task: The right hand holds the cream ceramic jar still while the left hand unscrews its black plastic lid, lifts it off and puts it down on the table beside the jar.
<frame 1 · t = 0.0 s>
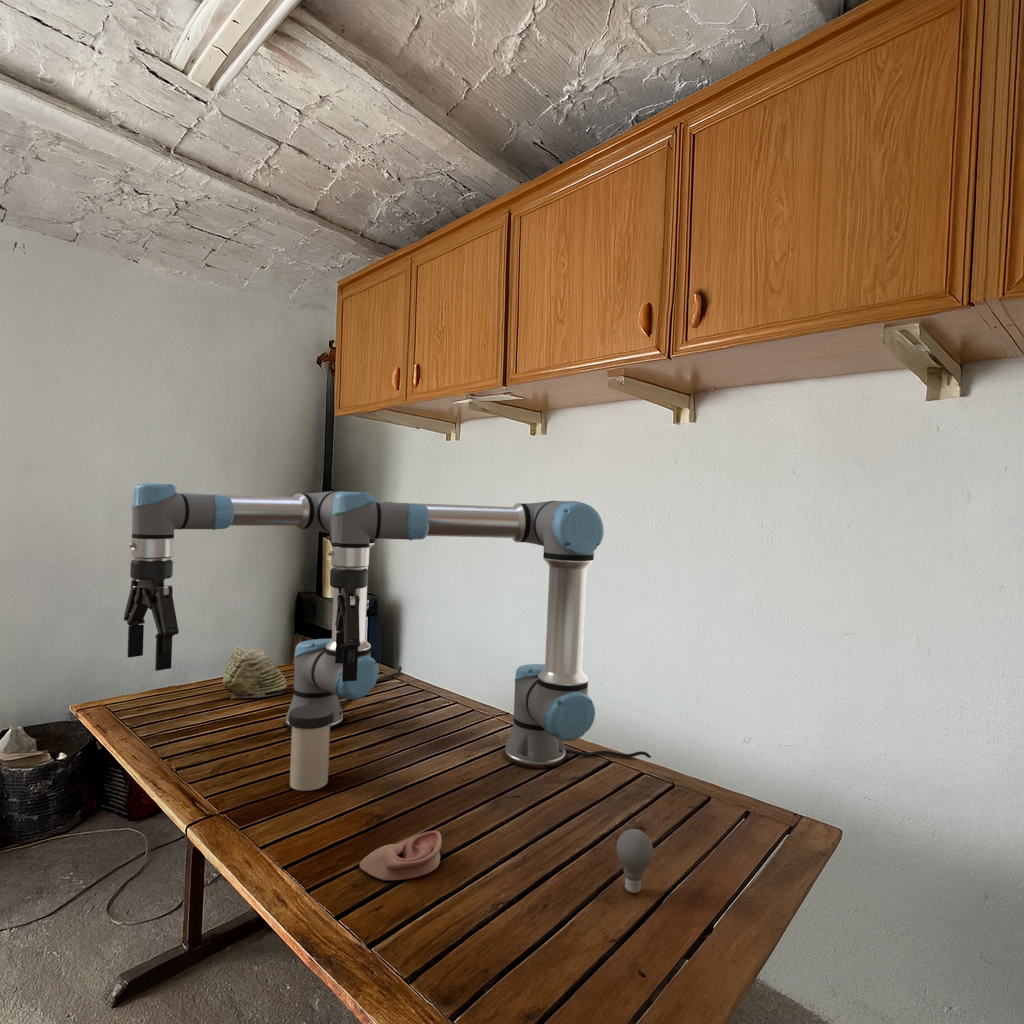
left hand: (148, 662, 129), 28 cm above the table, tool pointing down, fingers open, 13 cm apart
right hand: (345, 671, 129), 28 cm above the table, tool pointing down, fingers open, 13 cm apart
jar: (309, 782, 140), on the table
light bulb: (632, 891, 106), on the table
fossil: (254, 694, 198), on the table
lid: (311, 713, 140), point 15 cm above the table, screwed on, not yet turned
anatomical model: (401, 863, 111), on the table
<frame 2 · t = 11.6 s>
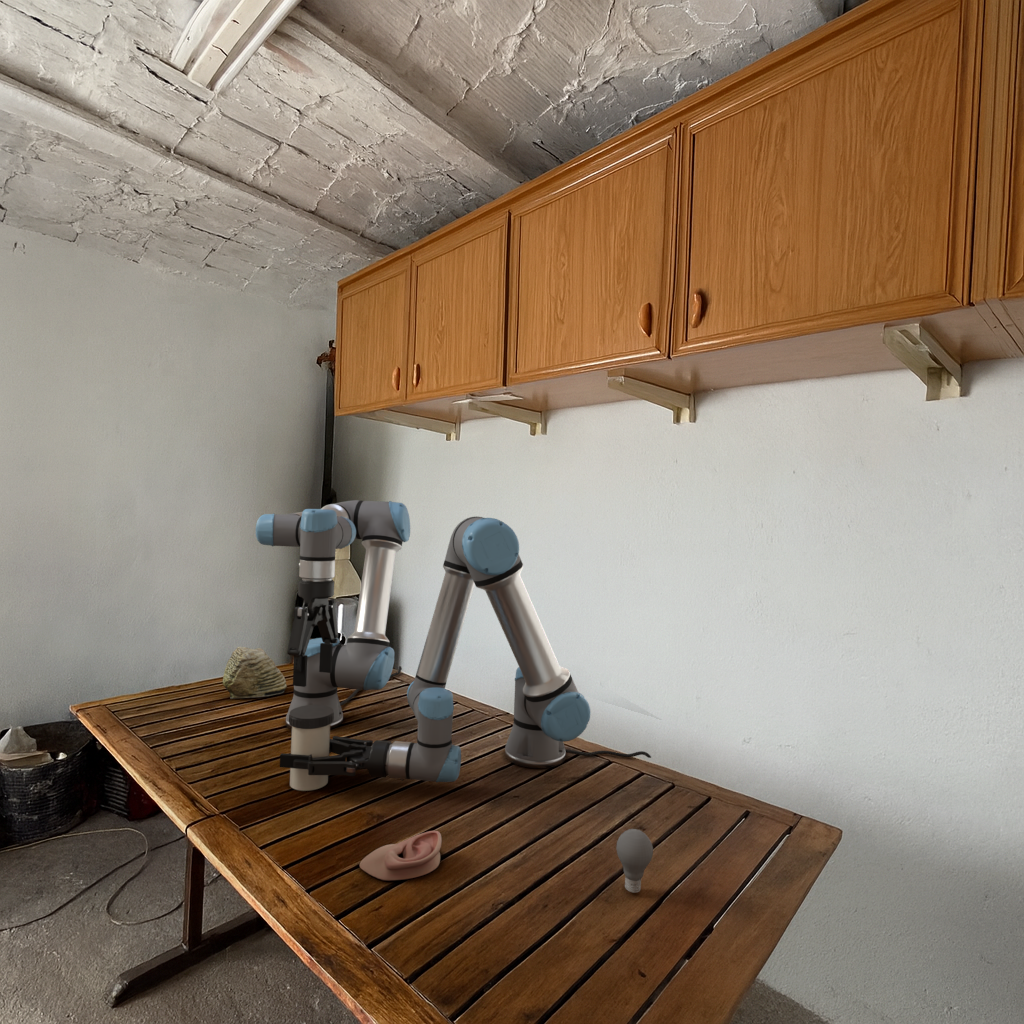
left hand: (313, 678, 140), 23 cm above the table, tool pointing down, fingers open, 11 cm apart
right hand: (289, 752, 140), 6 cm above the table, tool horizontal, fingers closed on jar, 8 cm apart
jar: (309, 782, 140), on the table, touching right hand
everything else where it was.
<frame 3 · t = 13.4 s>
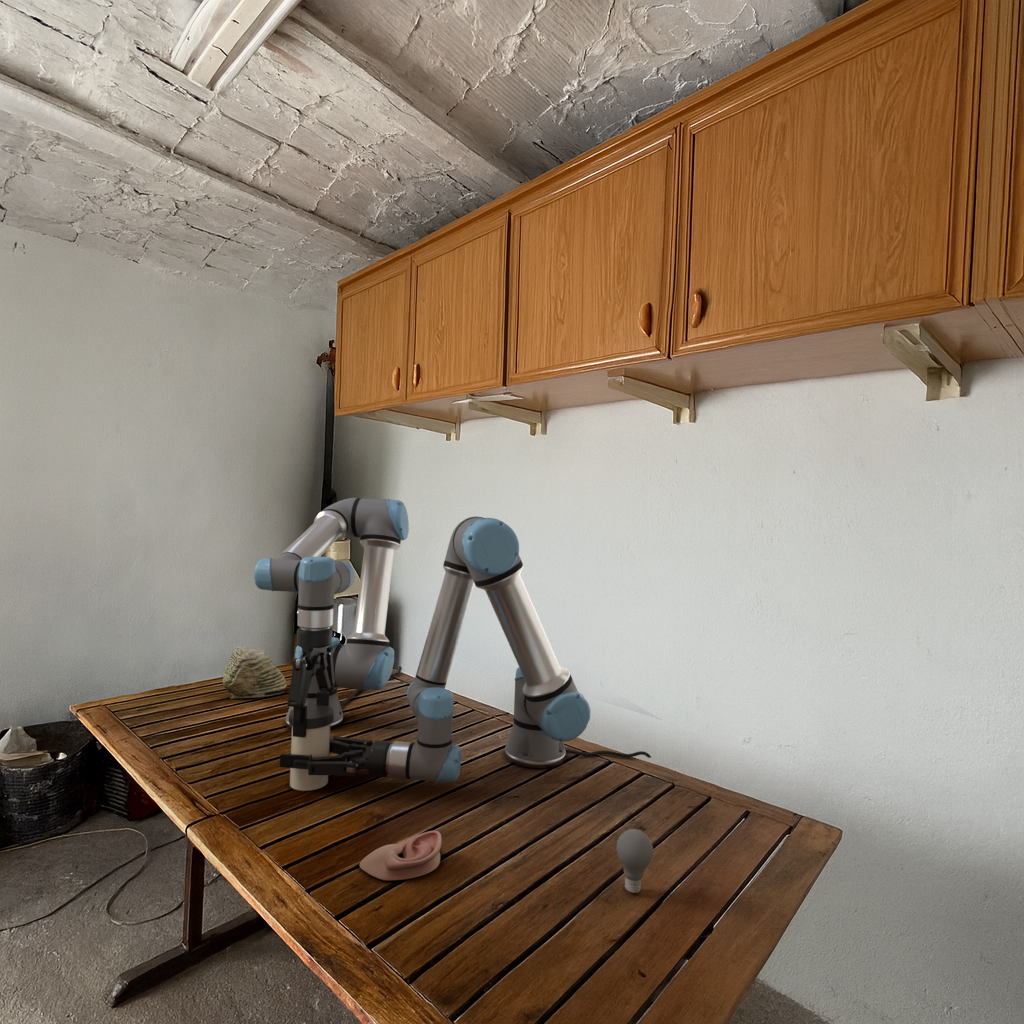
left hand: (311, 728, 140), 12 cm above the table, tool pointing down, fingers closed on lid, 9 cm apart
right hand: (289, 752, 140), 6 cm above the table, tool horizontal, fingers closed on jar, 8 cm apart
jar: (309, 782, 140), on the table, touching right hand
lid: (311, 713, 140), point 15 cm above the table, screwed on, not yet turned, touching left hand
everything else where it was.
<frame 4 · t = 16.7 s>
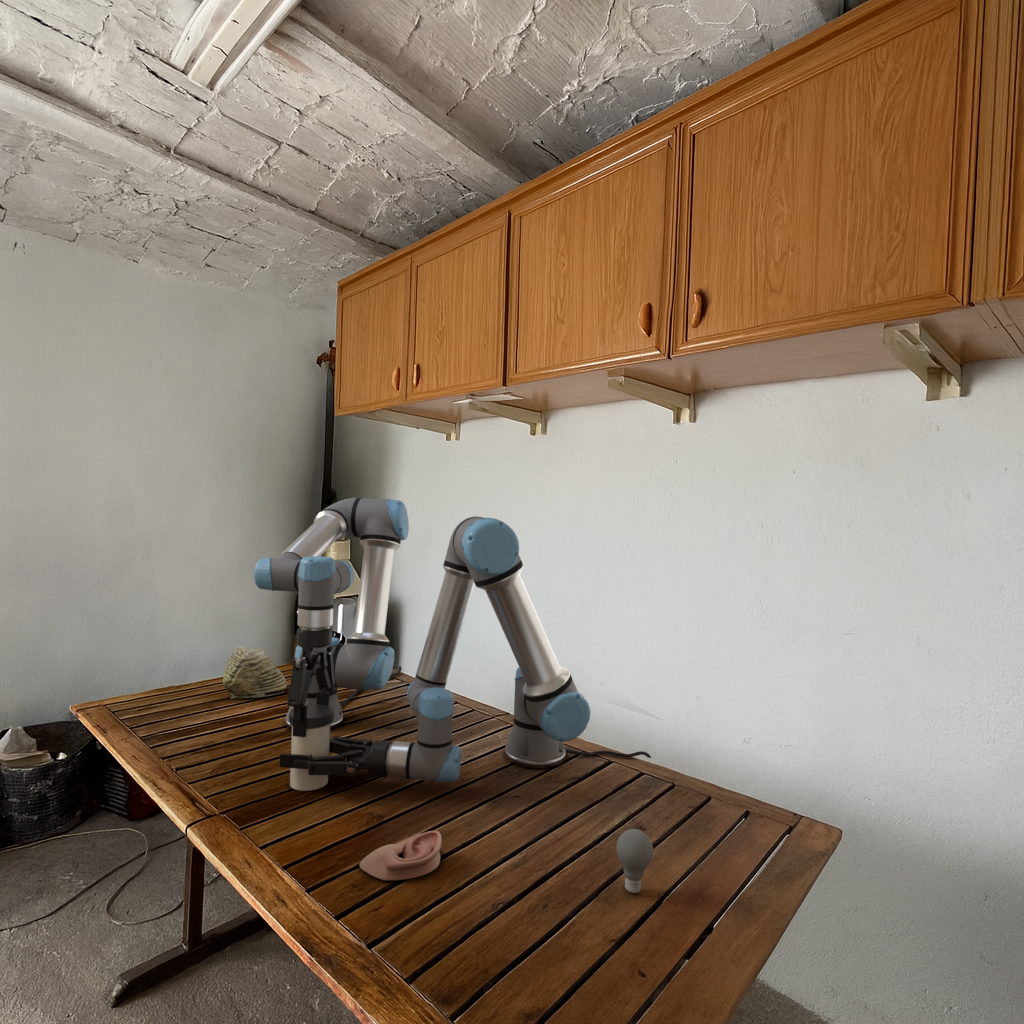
left hand: (311, 728, 140), 12 cm above the table, tool pointing down, fingers closed on lid, 9 cm apart
right hand: (289, 752, 140), 6 cm above the table, tool horizontal, fingers closed on jar, 8 cm apart
jar: (309, 782, 140), on the table, touching right hand
lid: (311, 712, 140), point 16 cm above the table, turned 92° so far, risen 0.1 cm, still on its thread, touching left hand
everything else where it was.
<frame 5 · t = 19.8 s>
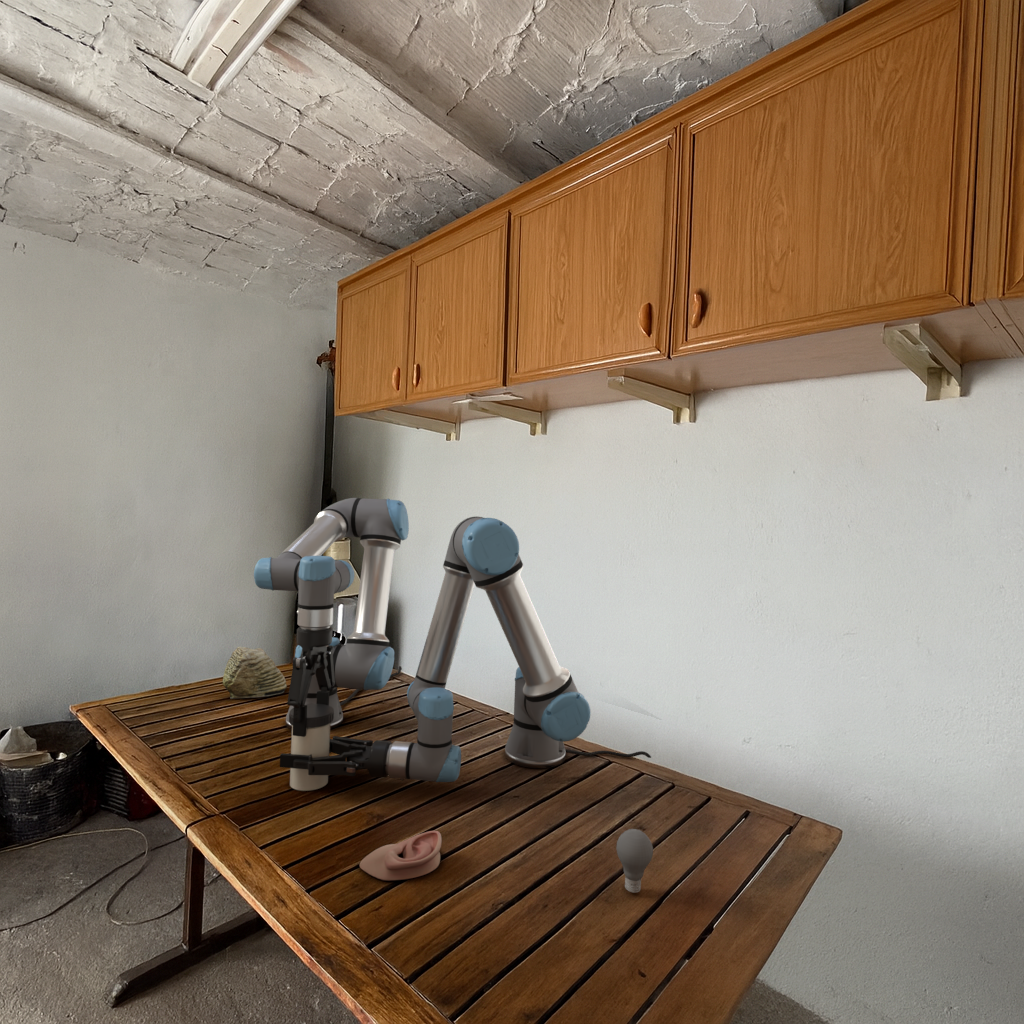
left hand: (311, 727, 140), 12 cm above the table, tool pointing down, fingers closed on lid, 9 cm apart
right hand: (289, 752, 140), 6 cm above the table, tool horizontal, fingers closed on jar, 8 cm apart
jar: (309, 782, 140), on the table, touching right hand
lid: (311, 712, 140), point 16 cm above the table, turned 185° so far, risen 0.2 cm, still on its thread, touching left hand
everything else where it was.
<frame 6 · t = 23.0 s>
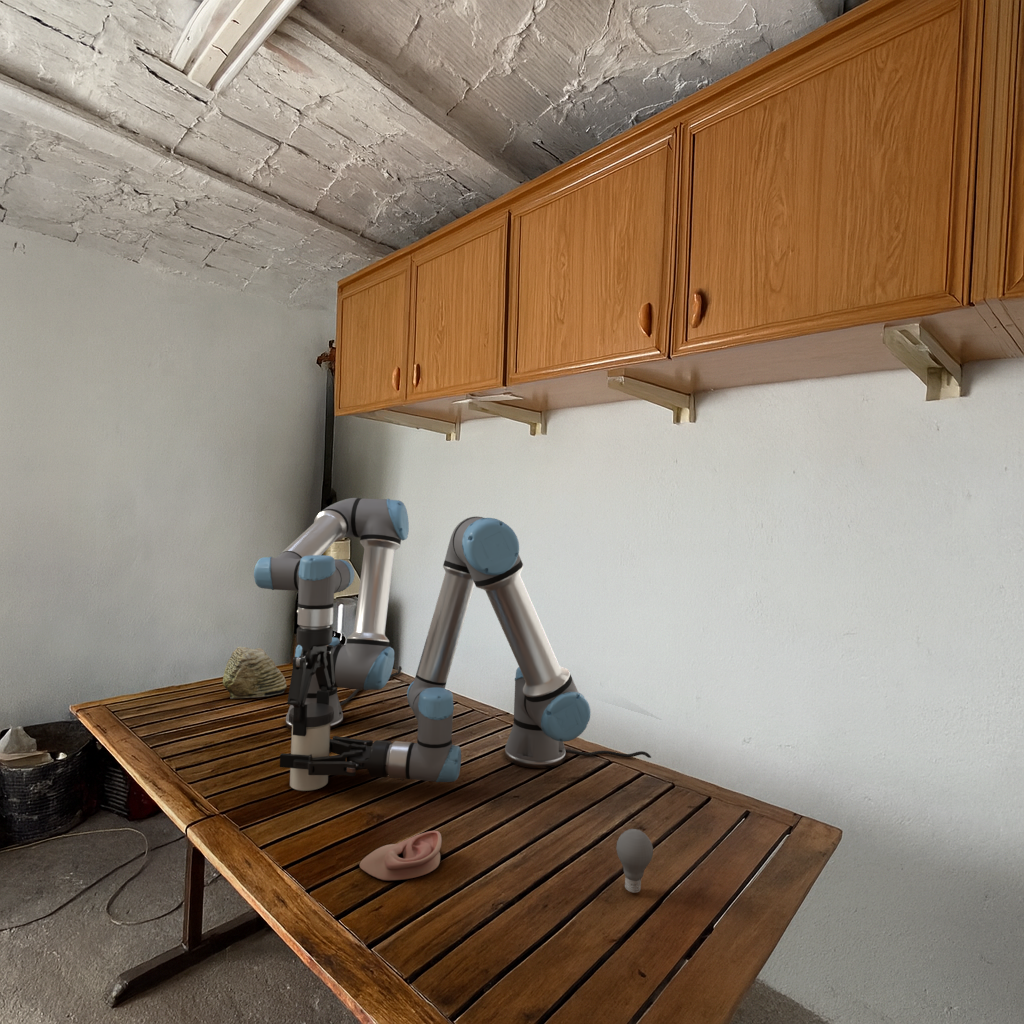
left hand: (311, 726, 140), 12 cm above the table, tool pointing down, fingers closed on lid, 9 cm apart
right hand: (289, 752, 140), 6 cm above the table, tool horizontal, fingers closed on jar, 8 cm apart
jar: (309, 782, 140), on the table, touching right hand
lid: (311, 711, 140), point 16 cm above the table, turned 277° so far, risen 0.3 cm, still on its thread, touching left hand
everything else where it was.
when the left hand's fingers open (0 cm above the table, at t = 29.2 s): lid drops 2 cm, point 2 cm above the table.
when the right hand's fingers open (6 cm above the table, at t = 30.2 s): jar stays where it is, on the table.
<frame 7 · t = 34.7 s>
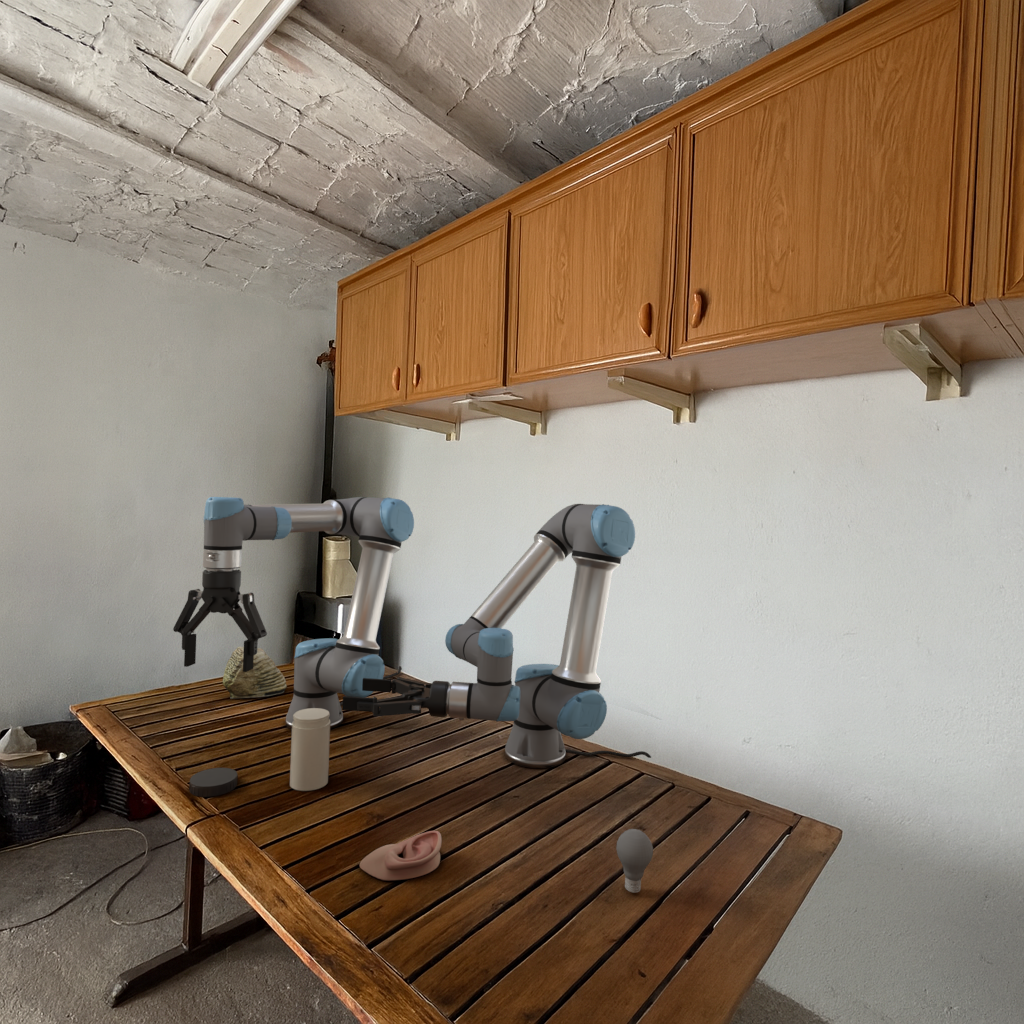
left hand: (218, 667, 136), 26 cm above the table, tool pointing down, fingers open, 13 cm apart
right hand: (353, 693, 139), 20 cm above the table, tool horizontal, fingers open, 13 cm apart
jar: (309, 782, 140), on the table
lid: (213, 778, 136), point 2 cm above the table, off its thread
everything else where it was.
at the end: lid came off its thread; lid point 1.8 cm above the table; the left hand is holding nothing; the right hand is holding nothing; jar tilted 0°; jar moved 0.1 cm from its start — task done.
